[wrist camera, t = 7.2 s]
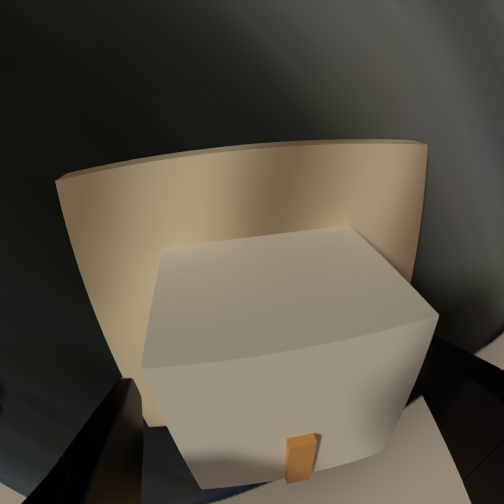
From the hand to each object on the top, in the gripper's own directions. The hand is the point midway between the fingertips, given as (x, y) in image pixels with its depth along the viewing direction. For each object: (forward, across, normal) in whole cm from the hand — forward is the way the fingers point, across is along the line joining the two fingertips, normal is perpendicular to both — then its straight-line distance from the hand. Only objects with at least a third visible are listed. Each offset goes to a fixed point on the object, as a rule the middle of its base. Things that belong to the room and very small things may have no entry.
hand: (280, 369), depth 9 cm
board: (+4, 0, 0) cm, 4 cm away
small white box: (+2, 0, 0) cm, 3 cm away
